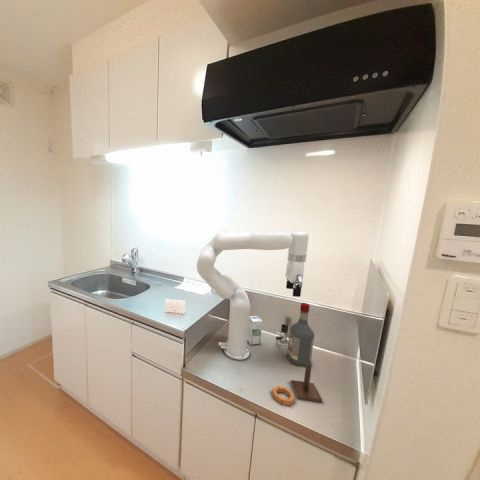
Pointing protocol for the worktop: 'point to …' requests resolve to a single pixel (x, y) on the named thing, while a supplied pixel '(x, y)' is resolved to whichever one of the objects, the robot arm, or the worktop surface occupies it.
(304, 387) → the stand
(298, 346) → the liquor
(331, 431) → the worktop surface
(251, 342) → the syrup box
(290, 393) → the ring
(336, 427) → the worktop surface
